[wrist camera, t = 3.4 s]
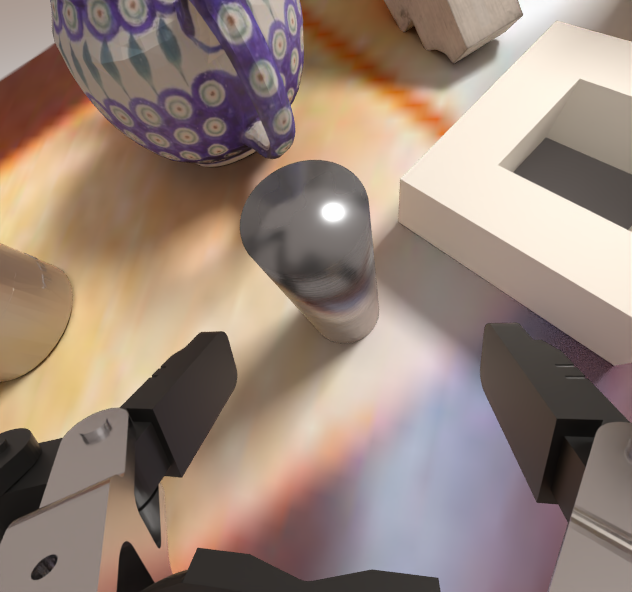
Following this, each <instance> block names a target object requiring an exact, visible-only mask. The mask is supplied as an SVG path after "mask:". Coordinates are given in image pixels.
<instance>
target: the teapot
mask: <svg viewBox="0 0 632 592" xmlns="http://www.w3.org/2000/svg"><path fill="white" fill-rule="evenodd" d="M50 2H51V8H52V32H53V37H54V41H55V43H56V45H57V47H58V49H59V51H60V52H61V54H62V56H63V58H64V60H65V62H66V64H67V66H68V68H69V70H70V72H71V74H72V75H73V77H74V78H75V80H76V82H77V83H78V84H79V86H80V87H81V89H82V90H83V91H84V93H85V94H86V95H87V97H88V98H89V99H90V101H91V102H92V103H93V104H94V106H95V107H96V108H97V109H98V110H99V111H100V112H101V113H102V115H103V116H104V117H105V118H106V119H107V120H108V121H109V122H110V123H112V124H113V125H114V126H115V127H116V128H117V129H118V130H120V131H121V132H122V133H123V134H125V135H126V136H127V137H129V138H130V139H132V140H133V141H135V142H136V143H138V144H139V145H141V146H143V147H145V148H146V149H148V150H150V151H151V152H154V153H156V154H158V155H160V156H163V157H165V158H168V159H170V160H173V161H180V162H189V163H196V164H199V165H201V166H206V167H215V166H222V165H226V164H229V163H232V162H235V161H237V160H240V159H242V158H244V157H246V156H248V155H250V154H252V153H254V152H255V151H256V152H258V153H259V154H260V155H262V156H263V157H265V158H270V159H276V158H279V157H280V156H281V155H283V154H284V153H285V152H286V151H287V150H288V149H289V148H290V147H291V145H292V143H293V140H294V137H295V122H294V117H293V113H292V109H291V104H292V103H293V101H294V99H295V96H296V94H297V92H298V89H299V85H300V80H301V74H302V69H303V63H304V43H303V18H302V9H301V4H300V0H50Z"/></svg>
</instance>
